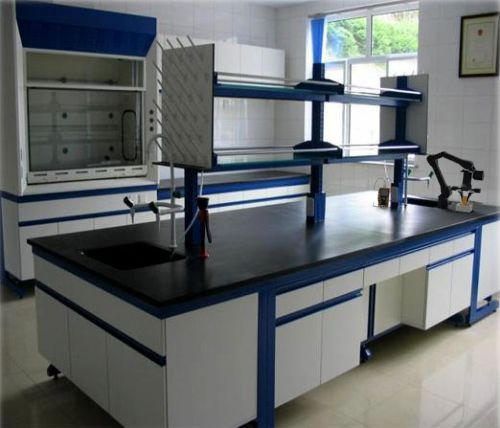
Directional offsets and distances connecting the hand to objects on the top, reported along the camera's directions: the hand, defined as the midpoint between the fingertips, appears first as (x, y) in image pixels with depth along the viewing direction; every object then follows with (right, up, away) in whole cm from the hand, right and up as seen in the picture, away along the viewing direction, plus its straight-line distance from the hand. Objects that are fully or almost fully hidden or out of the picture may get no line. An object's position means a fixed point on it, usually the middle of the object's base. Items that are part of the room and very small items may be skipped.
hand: (464, 201), depth 384 cm
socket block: (0, -6, +1) cm, 6 cm away
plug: (0, -5, +1) cm, 5 cm away
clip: (+6, -2, -1) cm, 7 cm away
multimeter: (-55, -4, +5) cm, 55 cm away
